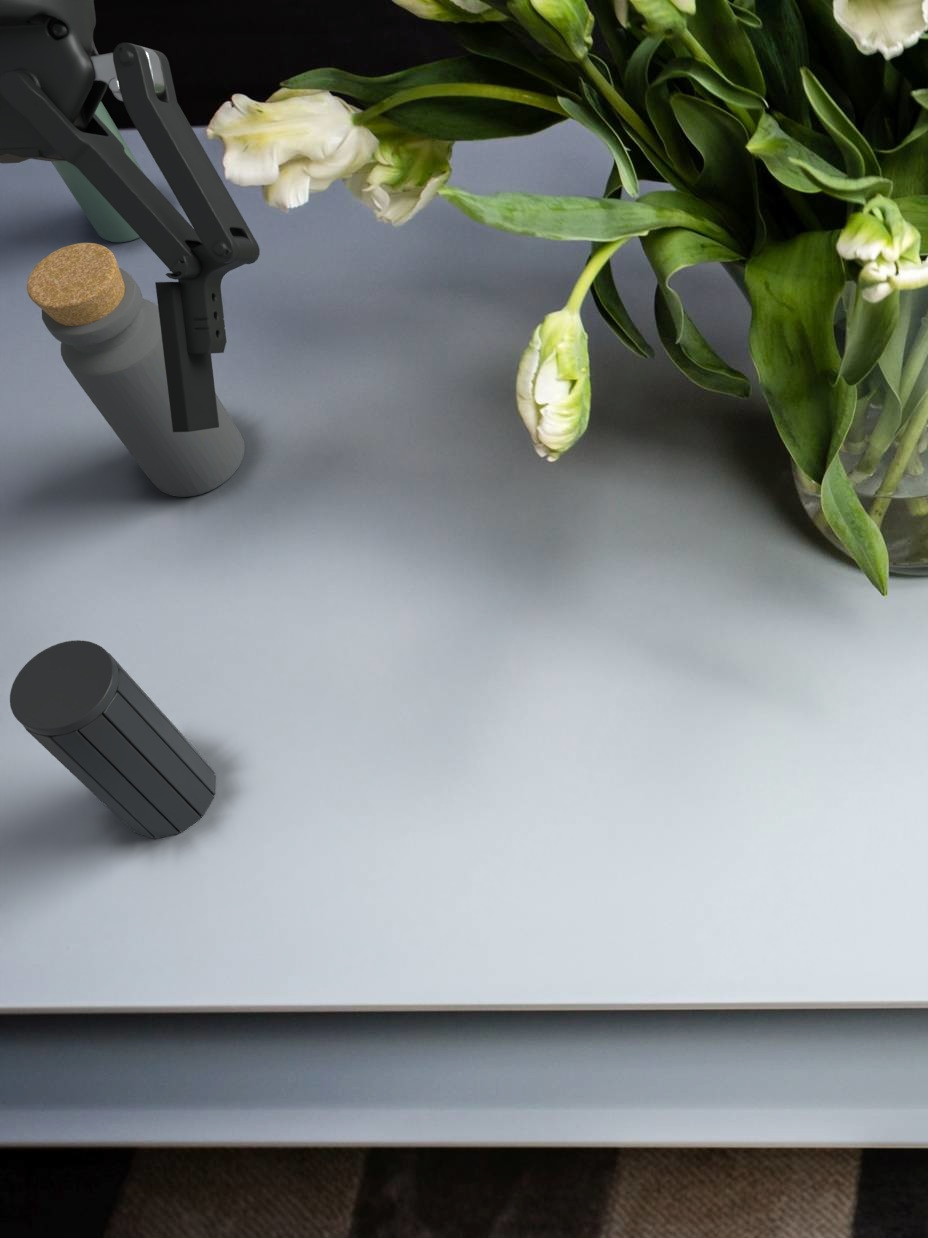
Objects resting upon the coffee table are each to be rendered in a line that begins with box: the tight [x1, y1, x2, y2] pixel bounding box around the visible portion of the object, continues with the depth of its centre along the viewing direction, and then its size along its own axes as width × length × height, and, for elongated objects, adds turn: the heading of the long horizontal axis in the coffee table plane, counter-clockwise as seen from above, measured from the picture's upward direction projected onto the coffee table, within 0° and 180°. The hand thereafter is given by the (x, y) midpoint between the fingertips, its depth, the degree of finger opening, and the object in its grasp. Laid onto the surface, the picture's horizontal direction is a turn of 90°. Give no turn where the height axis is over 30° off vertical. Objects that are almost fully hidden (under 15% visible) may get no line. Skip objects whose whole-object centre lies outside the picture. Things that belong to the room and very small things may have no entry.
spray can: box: [51, 101, 144, 243], centre depth 104 cm, size 5×5×13 cm
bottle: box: [26, 242, 246, 498], centre depth 91 cm, size 6×6×15 cm
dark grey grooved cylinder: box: [9, 639, 217, 839], centre depth 80 cm, size 5×5×11 cm
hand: (57, 433), depth 75 cm, fingers open, 13 cm apart
